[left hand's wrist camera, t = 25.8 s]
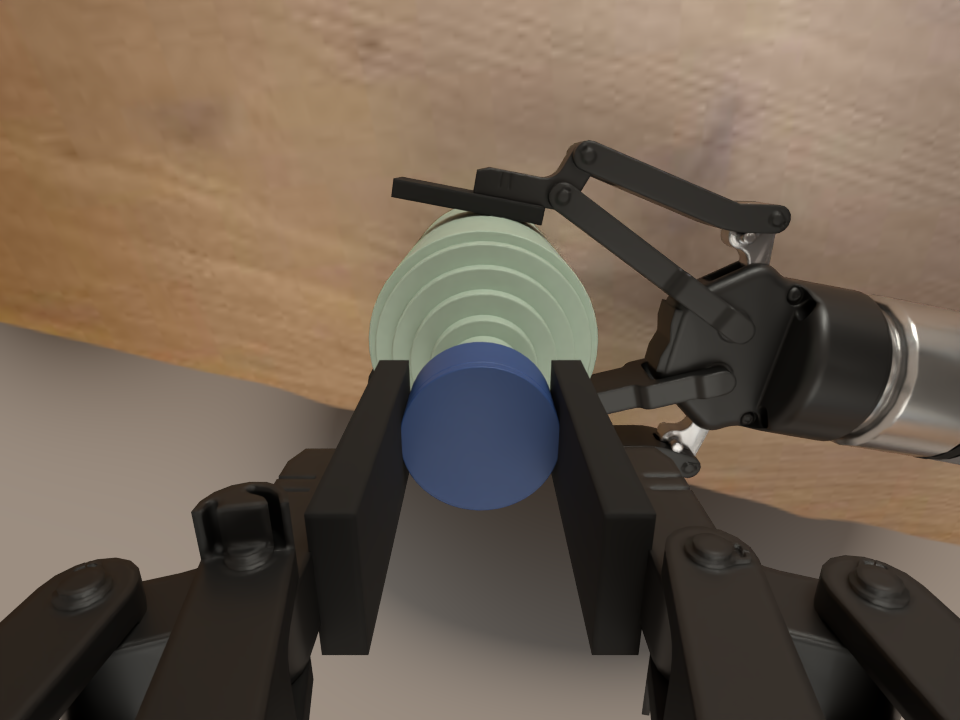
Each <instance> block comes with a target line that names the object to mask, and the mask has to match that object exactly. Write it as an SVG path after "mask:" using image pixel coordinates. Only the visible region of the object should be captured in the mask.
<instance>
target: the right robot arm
mask: <svg viewBox="0 0 960 720" xmlns="http://www.w3.org/2000/svg"><path fill="white" fill-rule="evenodd" d="M590 176H591V177H593V178H595V179H598V180H600V181H602V182H605V183H607V184H609V185H612V186H614V187H617V188H619V189H621V190H624V191H626V192H628V193H631V194H633V195H636V196H638V197H640V198H643V199H645V200H647V201H650V202H652V203H654V204H657V205H659V206H662V207H664V208H666V209H669V210H671V211H673V212H676V213H678V214H681V215H683V216H685V217H688V218H690V219H692V220H695V221H697V222H700V223H703V224H706V225H710V226H713V227H717V228H720V229H722V230H721V239H722V241H723V243H724V244H726V245H728V246H730V247H733V248H735V249H736V250H737V251H738V253H739V261H737V262H735V263H732V264H730V265H728V266H726V267H723V268H721V269H719V270H717V271H714V272H712V273H710V274H708V275H705V276H703V277H701V278H699V279H695V278H694V277H693V276H691V275H690V274H688V273H687V272H686V271H684V270H683V269H681V268H680V267H678V266H677V265H676V264H675V263H673V262H672V261H671V260H669V259H668V258H667V257H665V256H664V255H663V254H661V253H660V252H659V251H658V250H656V249H655V248H654V247H652V246H651V245H650V244H648V243H647V242H646V241H644V240H643V239H642V238H641V237H639V236H638V235H637V234H635V233H634V232H633V231H631V230H630V229H629V228H627V227H626V226H625V225H624V224H622V223H621V222H620V221H618V220H617V219H616V218H614V217H613V216H612V215H610V214H609V213H608V212H607V211H605V210H604V209H603V208H601V207H600V206H599V205H597V204H596V203H595V202H593V201H592V200H591V199H590V198H588V197H587V196H586V195H584V194H583V193H582V192H581V190H582V189H583V187H584V185H585V184H586V182H587V181H588V179H589V177H590ZM391 197H395V198H400V199H405V200H410V201H416V202H421V203H426V204H432V205H437V206H442V207H447V208H453V209H458V210H463V211H468V212H474V213H479V214H484V215H489V216H495V217H500V218H505V219H511V220H516V221H521V222H526V223H532V224H537V225H542V220H543V216H544V211H545V208H549V209H554V210H556V211H557V212H558V213H560V214H561V215H562V216H564V217H565V218H566V219H568V220H569V221H570V222H572V223H573V224H574V225H576V226H577V227H578V228H580V229H581V230H582V231H584V232H585V233H586V234H588V235H589V236H590V237H592V238H593V239H594V240H596V241H597V242H598V243H600V244H601V245H602V246H604V247H605V248H606V249H608V250H609V251H610V252H612V253H613V254H615V255H616V256H617V257H619V258H620V259H621V260H623V261H624V262H625V263H627V264H628V265H629V266H631V267H632V268H633V269H635V270H636V271H637V272H639V273H640V274H641V275H643V276H644V277H645V278H647V279H648V280H649V281H650V282H652V283H653V284H654V285H656V286H657V287H658V288H660V289H661V290H662V291H664V292H665V293H666V294H668V295H669V297H668V298H667V300H664V299H662V302H661V305H660V308H659V312H658V326H657V331H656V333H655V334H654V336H653V338H652V339H651V341H650V343H649V345H648V348H647V352H646V355H645V358H644V359H640V360H636V361H631V362H628V363H626V364H625V365H624V366H623V367H621V368H618V369H614V370H609V371H605V372H601V373H596V374H592V375H591V377H590V380H591V382H592V384H593V386H594V388H595V390H596V392H597V394H598V396H599V398H600V400H601V402H602V404H603V406H604V408H605V410H606V412H607V414H610V413H615V412H619V411H624V410H628V409H633V408H643V409H655V408H659V407H664V406H668V405H673V404H676V405H677V406H678V407H679V408H680V409H681V410H682V411H683V412H684V413H685V414H686V417H685V418H684V419H683V420H682V421H680V422H678V423H666V422H662V423H660V424H659V425H658V429H657V428H653V427H649V426H642V425H613V427H614V429H615V431H616V433H617V435H618V437H619V439H620V441H621V443H622V445H623V447H655V448H657V449H658V450H660V451H661V452H662V453H664V454H665V455H667V456H668V457H670V458H671V459H672V460H673V461H674V463H675V464H676V466H677V467H678V469H679V471H680V472H681V474H682V477H685V478H690V477H693V476H695V475H696V474H697V473H698V472H699V471H700V467H701V466H700V462H699V461H698V459H697V458H696V457H695V456H696V453H697V452H698V450H699V448H700V446H701V444H702V442H703V441H704V439H705V437H706V435H707V433H708V431H709V430H717V429H721V428H724V427H728V426H743V427H747V428H751V429H756V430H760V431H765V432H771V433H777V434H783V435H789V436H795V437H800V438H806V439H812V440H818V441H832V442H834V443H837V444H839V445H845V446H851V447H857V448H864V449H870V450H876V451H883V452H889V453H895V454H902V455H908V456H913V457H917V458H923V459H932V460H937V461H942V462H948V463H953V464H958V465H960V311H957V310H952V309H946V308H941V307H936V306H931V305H926V304H921V303H916V302H911V301H906V300H900V299H895V298H890V297H885V296H879V295H866V294H864V293H862V292H859V291H855V290H850V289H844V288H839V287H834V286H828V285H823V284H818V283H812V282H807V281H802V280H797V279H791V278H786V277H783V276H782V275H780V274H779V273H778V272H777V271H776V270H775V269H774V268H773V267H771V266H770V265H769V263H770V258H771V253H772V248H773V243H774V238H775V234H776V233H780V232H782V231H783V230H785V229H786V228H787V226H788V225H789V223H790V220H791V214H790V212H789V210H788V209H787V208H786V207H785V206H781V205H775V204H768V203H761V202H754V201H732V200H730V199H727V198H725V197H723V196H720V195H718V194H716V193H713V192H711V191H709V190H706V189H704V188H702V187H699V186H697V185H695V184H692V183H690V182H688V181H685V180H683V179H681V178H678V177H676V176H674V175H672V174H669V173H667V172H665V171H662V170H660V169H658V168H655V167H653V166H651V165H648V164H646V163H644V162H641V161H639V160H637V159H634V158H632V157H630V156H627V155H625V154H623V153H620V152H618V151H616V150H614V149H611V148H609V147H607V146H604V145H602V144H600V143H597V142H595V141H590V140H588V141H582V142H578V143H574V144H573V145H572V146H570V147H569V149H568V150H567V154H566V156H565V158H564V159H563V161H562V163H561V164H560V166H559V168H558V169H557V170H556V172H554V173H553V174H552V175H550V176H547V177H538V176H532V175H527V174H522V173H517V172H512V171H507V170H502V169H497V168H491V167H487V168H482V169H478V170H477V174H476V179H475V185H474V191H473V190H468V189H463V188H458V187H452V186H447V185H442V184H437V183H432V182H426V181H421V180H416V179H411V178H406V177H399V178H394V179H393V187H392V195H391ZM373 372H374V369H373V370H372V372H371V373H370V375H369V380H368V383H369V381H370V378H371V376H372V374H373Z"/></svg>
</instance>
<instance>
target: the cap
mask: <svg viewBox="0 0 960 720" xmlns="http://www.w3.org/2000/svg"><path fill="white" fill-rule="evenodd" d="M559 425H560V424H559V419H558V416H557V412H556V409H555V406H554V402H553V399H552V396H551V392H550V389H549V386H548V384H547V381H546V379H545V377H544V376H543V374H542V373H541V371H540V370H539V369H538V367H537V366H536V365H535V364H534V363H533V362H532V361H531V360H530V359H528V358H527V357H526V356H524V355H523V354H521V353H520V352H518V351H516V350H514V349H512V348H510V347H507V346H504V345H501V344H496V343H491V342H470V343H464V344H460V345H457V346H453V347H451V348H449V349H447V350H444V351H443V352H441V353H439V354H438V355H436V356H435V357H434V358H432V359H431V360H430V361H429V362H428V363H427V364H426V365H425V366H424V367H423V368H422V370H421V371H420V372H419V374H418V375H417V377H416V379H415V381H414V383H413V386H412V388H411V391H410V395H409V398H408V401H407V405H406V408H405V411H404V415H403V418H402V422H401V438H402V455H403V460H404V463H405V465H406V467H407V469H408V471H409V473H410V474H411V476H412V477H413V478H414V480H415V481H416V482H417V483H418V484H419V485H420V486H421V487H422V488H423V489H424V490H425V491H426V492H427V493H429V494H430V495H431V496H433V497H435V498H436V499H438V500H440V501H442V502H444V503H446V504H449V505H452V506H455V507H458V508H463V509H468V510H491V509H498V508H502V507H506V506H509V505H512V504H514V503H517V502H519V501H521V500H523V499H525V498H526V497H528V496H529V495H531V494H532V493H534V492H535V491H536V490H537V489H538V488H539V487H540V486H541V485H542V484H543V483H544V482H545V481H546V480H547V478H548V477H549V475H550V474H551V472H552V471H553V469H554V467H555V465H556V463H557V460H558V445H559Z"/></svg>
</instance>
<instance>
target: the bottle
mask: <svg viewBox="0 0 960 720" xmlns="http://www.w3.org/2000/svg"><path fill="white" fill-rule="evenodd" d="M470 342H491V343H496V344H501V345H504V346H507V347H510V348H512V349H514V350H516V351H518V352H520V353H521V354H523V355H524V356H526V357H527V358H528V359H530V360H531V361H532V362H533V363H534V364H535V365H536V366H537V367H538V369H539V370H540V371H541V373H542V374H543V376H544V377H545V379H546V381H547V384H548V386H549V389H550V378H551V360H581V361H582V364H583V366H584V368H585V370H586V372H587V374H588V376H589V378H590V377H591V375H592V372H593V369H594V365H595V361H596V357H597V347H598V331H597V323H596V318H595V313H594V310H593V307H592V304H591V301H590V298H589V296H588V294H587V292H586V290H585V288H584V286H583V285H582V283H581V282H580V280H579V279H578V277H577V276H576V274H575V273H574V272H573V271H572V269H571V268H570V267H569V266H568V265H567V263H566V262H565V261H564V260H563V259H562V257H561V256H560V255H559V254H558V253H557V251H556V250H555V249H554V248H553V247H552V245H551V244H550V243H549V242H548V240H547V239H546V238H545V237H544V236H543V234H542V233H541V232H540V231H539V230H538V229H537V227H536V226H535V225H534V224H532V223H526V222H521V221H516V220H511V219H505V218H500V217H495V216H489V215H484V214H479V213H474V212H468V211H463V210H458V209H453V210H451V211H449V212H447V213H446V214H444V215H443V216H441V217H440V218H439V219H437V220H436V221H435V222H434V223H433V224H432V225H431V226H430V227H429V228H428V229H427V231H426V232H425V233H424V234H423V236H422V237H421V238H420V239H419V241H418V242H417V243H416V244H415V246H414V247H413V248H412V249H411V251H410V252H409V253H408V254H407V256H406V257H405V258H404V259H403V261H402V262H401V263H400V264H399V266H398V267H397V268H396V269H395V271H394V272H393V273H392V275H391V276H390V277H389V279H388V280H387V281H386V283H385V285H384V287H383V288H382V290H381V292H380V294H379V296H378V298H377V301H376V304H375V306H374V309H373V313H372V317H371V322H370V331H369V349H370V356H371V362H372V366H373V369H374V370H375V368H376V366H377V364H378V362H379V360H409V370H410V391H411V388H412V386H413V383H414V381H415V379H416V377H417V375H418V374H419V372H420V371H421V370H422V368H423V367H424V366H425V365H426V364H427V363H428V362H429V361H430V360H431V359H432V358H434V357H435V356H436V355H438V354H439V353H441V352H443V351H444V350H447V349H449V348H451V347H453V346H457V345H460V344H464V343H470Z"/></svg>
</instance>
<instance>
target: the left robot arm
mask: <svg viewBox="0 0 960 720" xmlns="http://www.w3.org/2000/svg"><path fill="white" fill-rule="evenodd" d="M550 392H551V396H552V399H553V402H554V406H555V409H556V412H557V416H558V419H559V424H560V425H559V445H558V460H557V463H556V465H555V467H554V469H553V471H552V472H551V474H552V478H553V483H554V487H555V492H556V496H557V501H558V505H559V510H560V514H561V518H562V523H563V527H564V532H565V536H566V541H567V545H568V550H569V554H570V559H571V563H572V568H573V572H574V577H575V581H576V586H577V590H578V595H579V599H580V603H581V608H582V612H583V617H584V621H585V626H586V630H587V635H588V639H589V644H590V648H591V653H592V655H638V654H639V646H640V638H641V631H643V634H644V637H645V640H646V643H647V645H648V648H649V651H650V658H649V666H648V673H647V680H646V687H645V694H644V702H643V709H642V714H643V715H649V713H650V714H651V720H900V719H901V716H902V717H903V718H904V719H905V720H960V618H959V617H958V616H956V615H955V614H954V613H953V612H952V611H951V610H950V609H949V608H948V607H946V606H945V605H944V604H943V603H942V602H941V601H940V600H939V599H938V598H937V597H935V596H934V595H933V594H932V593H931V592H930V591H929V590H928V589H927V588H925V587H924V586H923V585H922V584H920V583H919V582H918V581H916V580H915V579H913V578H912V577H911V576H909V575H908V574H907V573H905V572H902V571H900V570H898V569H896V568H894V567H892V566H890V565H888V564H886V563H883V562H880V561H877V560H873V559H869V558H866V557H858V556H847V555H844V556H839V557H834V558H830V559H829V560H828V561H827V562H826V563H825V564H824V565H823V566H822V569H821V573H820V577H819V579H816V578H811V577H806V576H802V575H797V574H792V573H788V572H783V571H779V570H775V569H772V568H768V567H765V566H763V565H761V563H760V561H759V559H758V557H757V556H756V554H755V553H754V552H753V550H752V549H751V547H749V546H748V545H747V544H745V543H744V542H743V541H741V540H740V539H739V538H737V537H735V536H733V535H731V534H728V533H726V532H724V531H722V530H718V529H716V528H715V526H714V524H713V523H712V521H711V520H710V518H709V516H708V515H707V513H706V512H705V510H704V509H703V507H702V505H701V504H700V502H699V501H698V499H697V498H696V496H695V494H694V493H693V491H692V490H690V486H689V485H688V483H687V482H686V480H685V479H684V477H682V474H681V472H680V471H679V469H678V467H677V466H676V464H675V463H674V461H673V460H672V459H671V458H670V457H668V456H667V455H665V454H664V453H662V452H661V451H660V450H658V449H657V448H655V447H623V445H622V443H621V441H620V439H619V437H618V435H617V433H616V431H615V429H614V427H613V425H612V422H611V420H610V418H609V416H608V414H607V412H606V410H605V408H604V406H603V404H602V402H601V400H600V398H599V396H598V394H597V392H596V390H595V388H594V386H593V384H592V382H591V380H590V378H589V376H588V374H587V372H586V370H585V368H584V366H583V364H582V361H581V360H551V378H550ZM409 395H410V370H409V360H379V362H378V364H377V366H376V368H375V370H374V372H373V374H372V376H371V378H370V381H369V383H368V385H367V387H366V389H365V391H364V393H363V395H362V397H361V399H360V401H359V403H358V405H357V407H356V409H355V411H354V413H353V415H352V417H351V419H350V421H349V423H348V425H347V427H346V429H345V431H344V433H343V435H342V438H341V440H340V442H339V444H338V446H337V448H336V449H305V450H303V451H302V452H301V453H299V454H298V455H296V456H295V457H294V458H292V459H291V460H289V461H288V462H287V464H286V466H285V467H284V469H283V470H282V472H281V474H280V475H279V479H277V480H276V482H275V483H274V484H271V483H268V482H247V483H242V484H237V485H231V486H229V487H226V488H224V489H221V490H218V491H216V492H214V493H212V494H211V495H209V496H208V497H206V498H204V499H203V500H201V501H200V502H199V503H198V504H197V506H196V507H195V508H194V509H193V510H192V512H191V513H192V518H193V523H194V528H195V533H196V537H197V542H198V547H199V552H200V556H201V562H200V564H199V566H198V568H197V569H193V570H190V571H186V572H183V573H179V574H174V575H170V576H165V577H161V578H156V579H151V580H147V581H142V579H141V575H140V571H139V568H138V567H137V566H136V565H135V564H134V563H133V562H132V561H130V560H125V559H120V558H107V559H97V560H93V561H89V562H87V563H82V564H79V565H76V566H74V567H72V568H70V569H68V570H66V571H64V572H62V573H60V574H58V575H56V576H54V577H53V578H51V579H50V580H49V581H47V582H46V583H45V584H43V585H42V586H40V587H39V588H38V589H37V590H35V591H34V592H33V593H32V594H31V595H30V596H29V597H28V598H27V599H25V600H24V601H23V602H22V603H21V604H20V605H19V606H18V607H17V608H16V609H14V610H13V611H12V612H11V613H10V614H9V615H8V616H7V617H6V618H5V619H4V620H2V621H1V622H0V720H59V719H60V720H309V715H310V706H311V696H312V687H313V673H312V666H311V659H310V655H311V652H312V649H313V646H314V643H315V641H316V638H317V634H318V632H319V636H320V643H321V651H322V655H368V654H369V650H370V645H371V641H372V636H373V632H374V628H375V623H376V619H377V614H378V609H379V605H380V601H381V596H382V592H383V587H384V583H385V578H386V574H387V569H388V565H389V560H390V556H391V551H392V547H393V542H394V538H395V533H396V529H397V525H398V520H399V516H400V511H401V507H402V502H403V498H404V493H405V489H406V484H407V480H408V475H409V471H408V469H407V467H406V465H405V463H404V460H403V455H402V438H401V422H402V418H403V415H404V411H405V408H406V405H407V401H408V398H409Z"/></svg>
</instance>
